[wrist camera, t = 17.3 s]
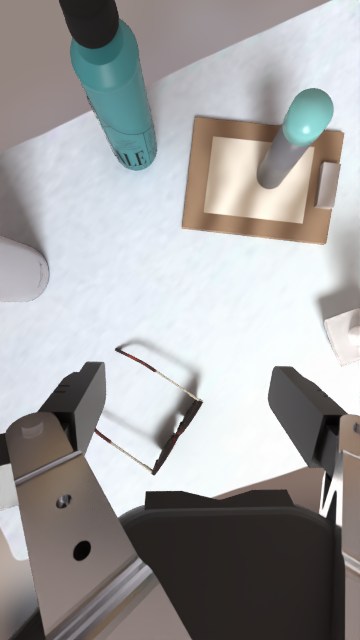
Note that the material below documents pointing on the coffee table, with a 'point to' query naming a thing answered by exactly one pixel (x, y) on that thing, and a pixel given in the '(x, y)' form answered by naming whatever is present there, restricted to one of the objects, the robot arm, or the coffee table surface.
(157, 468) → the sunglasses
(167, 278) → the coffee table surface
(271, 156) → the grey capped container
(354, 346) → the figurine
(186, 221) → the clipboard
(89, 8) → the beverage bottle
